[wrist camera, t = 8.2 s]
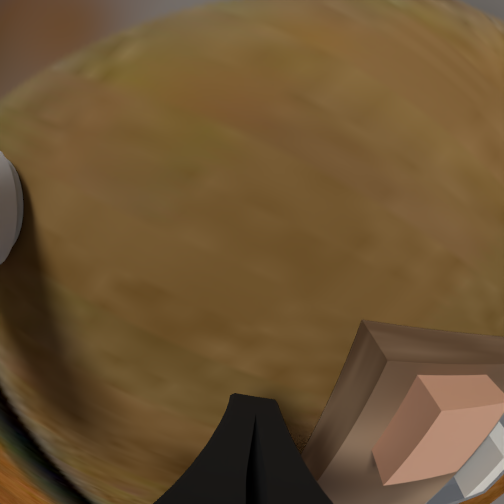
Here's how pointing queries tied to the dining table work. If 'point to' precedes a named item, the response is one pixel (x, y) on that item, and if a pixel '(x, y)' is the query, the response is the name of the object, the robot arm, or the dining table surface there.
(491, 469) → the tile
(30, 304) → the dining table surface
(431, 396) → the tile
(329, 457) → the board
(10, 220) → the energy drink can
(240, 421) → the robot arm
